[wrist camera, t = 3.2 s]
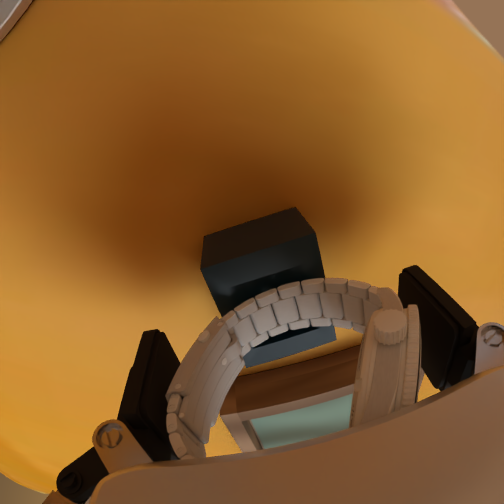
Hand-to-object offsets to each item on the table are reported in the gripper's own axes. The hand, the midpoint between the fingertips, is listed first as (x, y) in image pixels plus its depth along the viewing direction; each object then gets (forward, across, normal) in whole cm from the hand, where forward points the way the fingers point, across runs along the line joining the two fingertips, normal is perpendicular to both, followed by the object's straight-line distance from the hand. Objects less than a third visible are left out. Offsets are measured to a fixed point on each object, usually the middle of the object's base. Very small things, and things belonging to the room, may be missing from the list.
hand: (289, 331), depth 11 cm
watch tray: (+4, -2, +15) cm, 15 cm away
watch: (+4, 0, 0) cm, 5 cm away
